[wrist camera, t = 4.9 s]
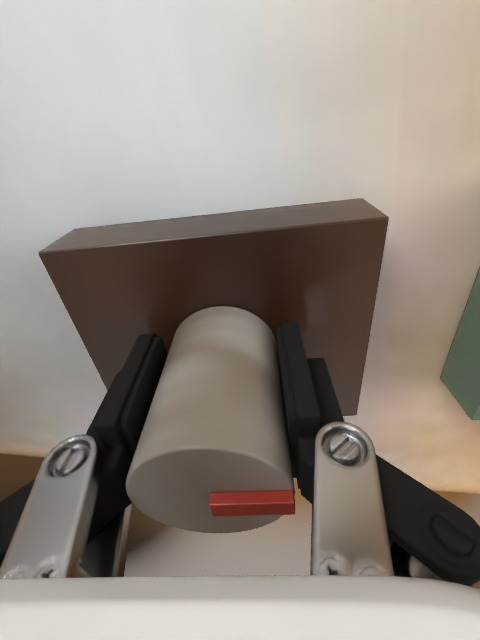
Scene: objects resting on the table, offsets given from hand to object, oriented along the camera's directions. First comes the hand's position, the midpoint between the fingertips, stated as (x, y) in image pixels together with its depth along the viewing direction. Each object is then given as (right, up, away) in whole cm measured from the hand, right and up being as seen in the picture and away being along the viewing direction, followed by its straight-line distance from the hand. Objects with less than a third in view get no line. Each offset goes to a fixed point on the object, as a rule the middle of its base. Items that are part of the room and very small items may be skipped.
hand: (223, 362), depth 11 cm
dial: (0, 0, +1) cm, 1 cm away
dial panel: (0, +2, +3) cm, 3 cm away
